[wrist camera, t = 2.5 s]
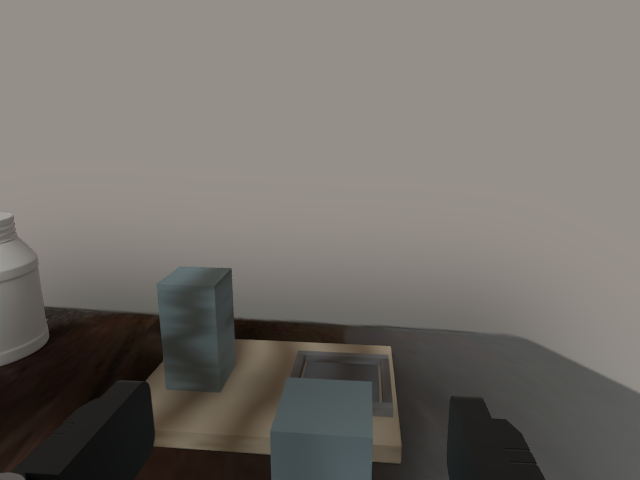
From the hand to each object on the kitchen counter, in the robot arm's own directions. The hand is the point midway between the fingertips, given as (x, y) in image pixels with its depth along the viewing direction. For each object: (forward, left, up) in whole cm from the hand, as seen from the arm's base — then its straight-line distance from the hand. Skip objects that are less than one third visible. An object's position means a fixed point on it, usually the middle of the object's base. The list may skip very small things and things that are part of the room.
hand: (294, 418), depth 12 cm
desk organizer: (-7, +27, -17) cm, 33 cm away
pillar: (0, +11, -17) cm, 20 cm away
